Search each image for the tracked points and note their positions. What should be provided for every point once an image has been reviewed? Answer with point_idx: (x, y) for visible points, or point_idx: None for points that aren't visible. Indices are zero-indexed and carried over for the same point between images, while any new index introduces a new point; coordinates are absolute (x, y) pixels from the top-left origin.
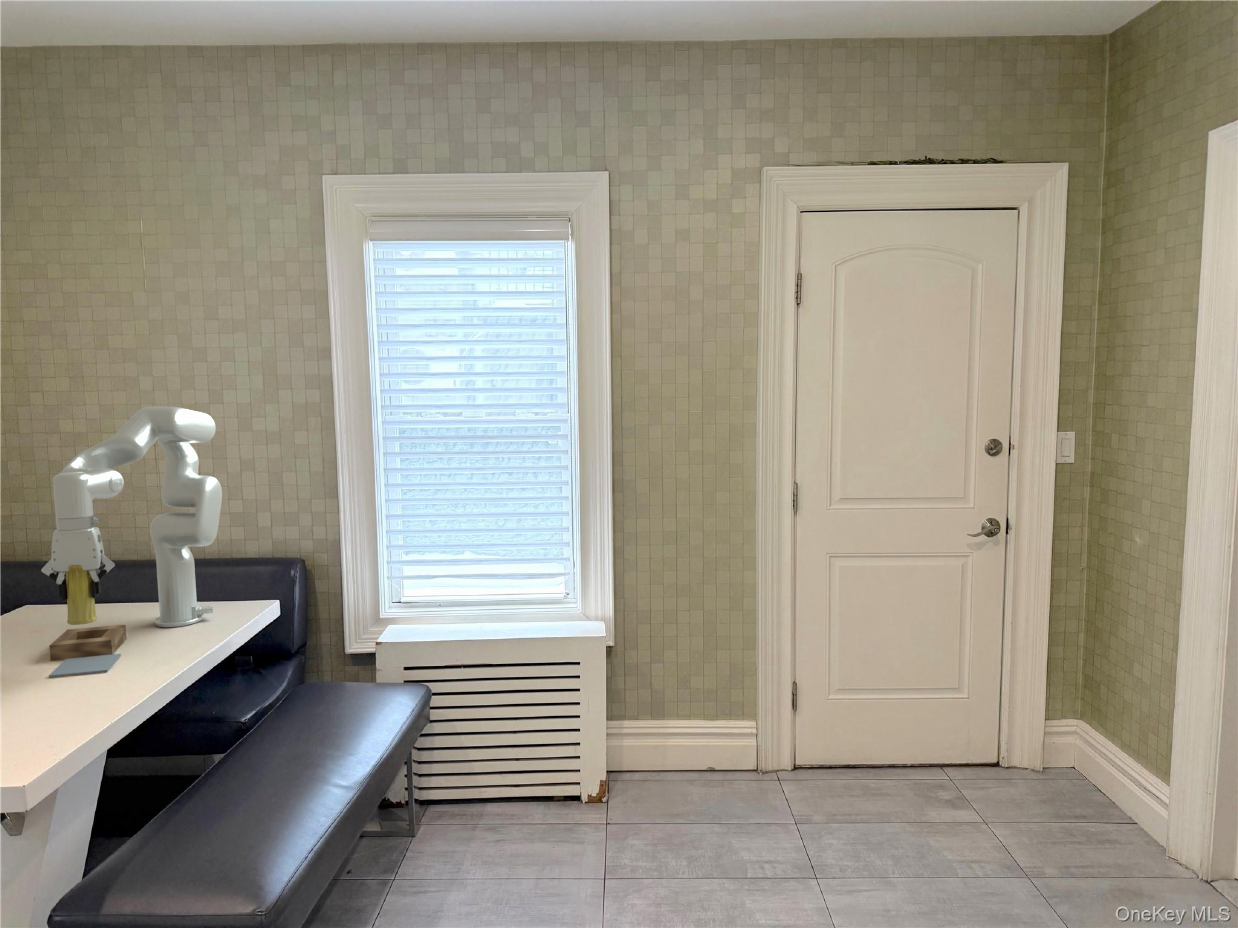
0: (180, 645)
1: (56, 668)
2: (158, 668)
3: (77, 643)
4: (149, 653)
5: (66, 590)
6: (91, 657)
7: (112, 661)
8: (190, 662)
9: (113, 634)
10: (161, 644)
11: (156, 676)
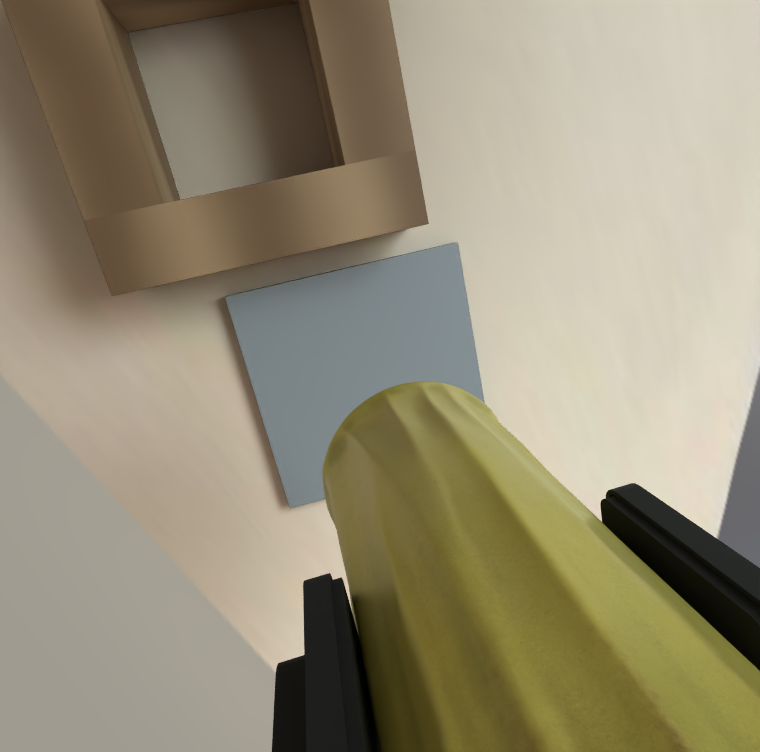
0: (668, 107)
1: (267, 428)
2: (658, 414)
3: (259, 261)
4: (567, 219)
5: (377, 745)
6: (343, 288)
7: (468, 352)
8: (752, 354)
9: (390, 106)
10: (577, 72)
11: (673, 491)
